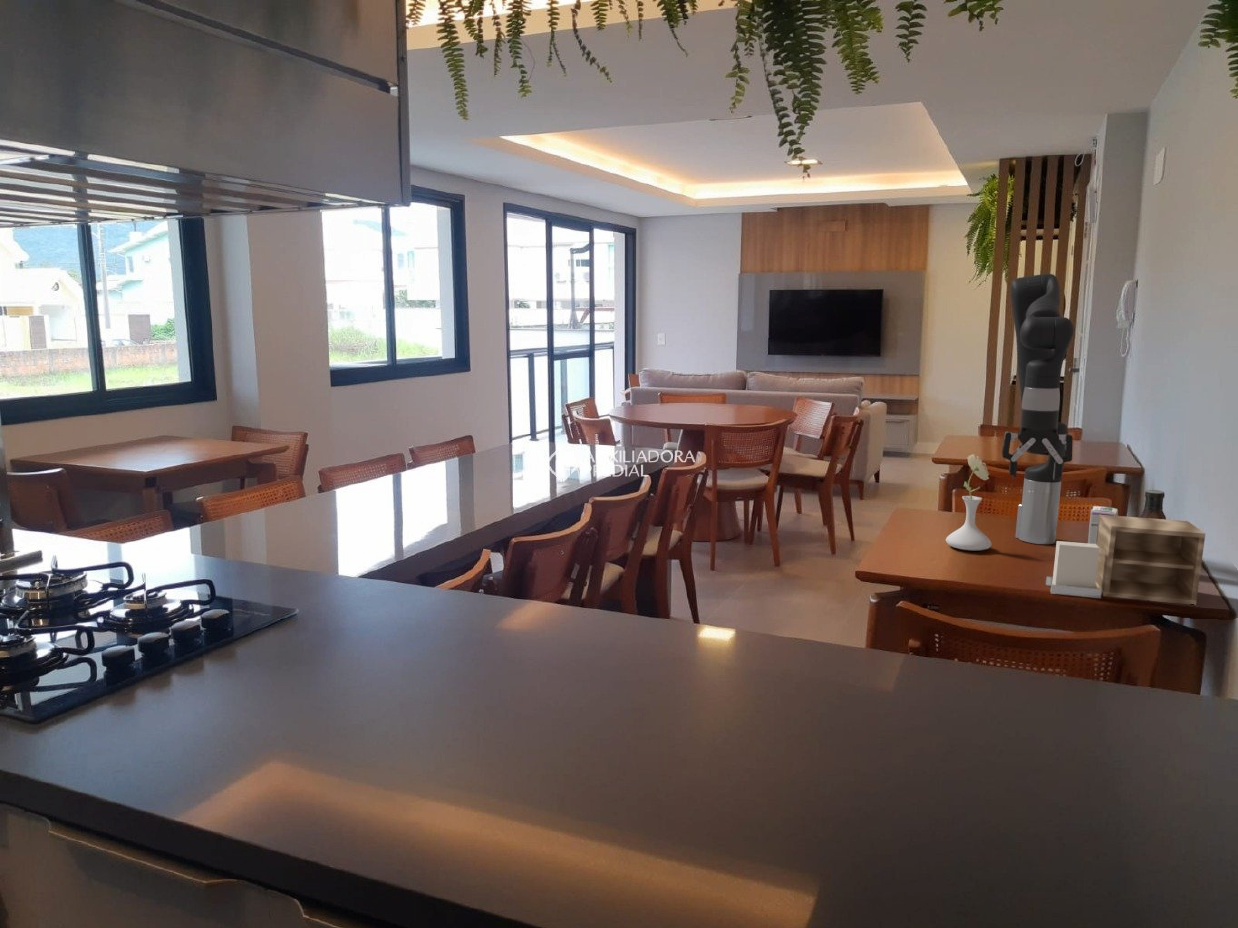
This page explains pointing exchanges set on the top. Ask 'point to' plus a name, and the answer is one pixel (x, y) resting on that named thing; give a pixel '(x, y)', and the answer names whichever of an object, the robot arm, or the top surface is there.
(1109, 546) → the carcass
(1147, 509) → the sauce bottle
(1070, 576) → the white rectangular block
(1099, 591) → the grey slotted stand
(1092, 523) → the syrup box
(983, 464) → the flower in vase
